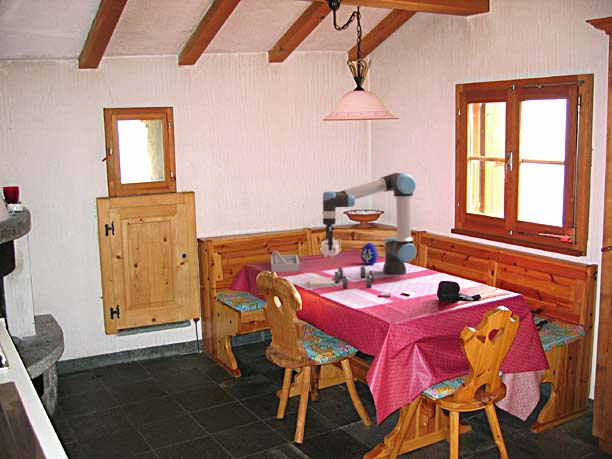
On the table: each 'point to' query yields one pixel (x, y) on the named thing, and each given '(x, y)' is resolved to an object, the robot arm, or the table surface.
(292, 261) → the faucet
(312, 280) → the parts stand
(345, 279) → the standoff posts
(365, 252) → the ornament
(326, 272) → the table surface
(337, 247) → the mechanical part
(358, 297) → the table surface
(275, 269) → the storage bin
